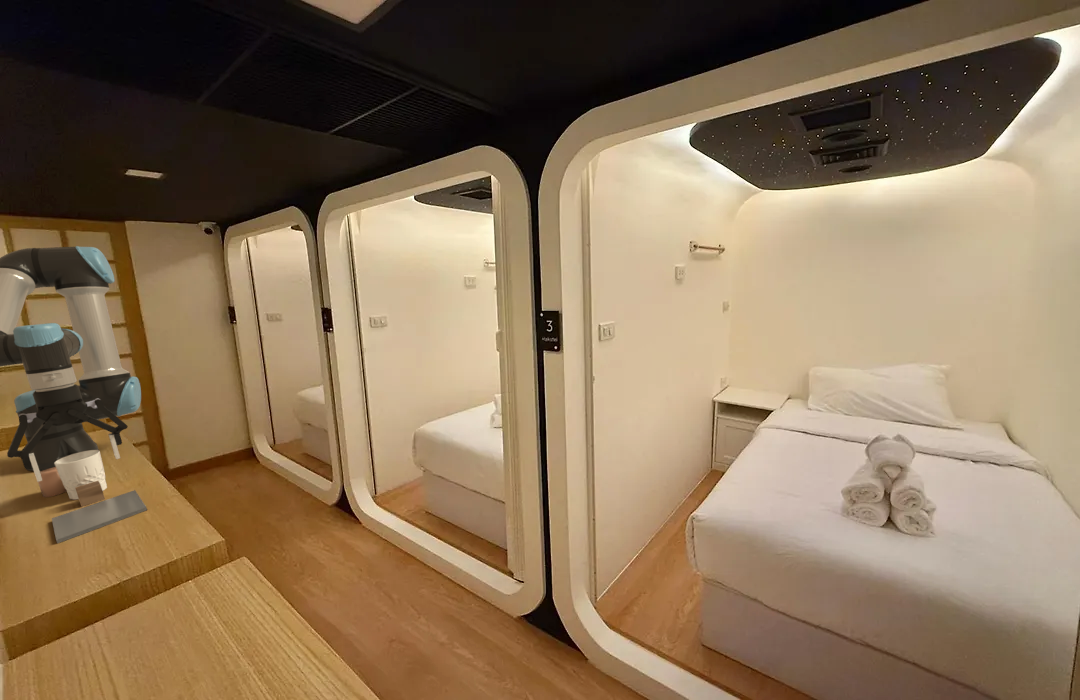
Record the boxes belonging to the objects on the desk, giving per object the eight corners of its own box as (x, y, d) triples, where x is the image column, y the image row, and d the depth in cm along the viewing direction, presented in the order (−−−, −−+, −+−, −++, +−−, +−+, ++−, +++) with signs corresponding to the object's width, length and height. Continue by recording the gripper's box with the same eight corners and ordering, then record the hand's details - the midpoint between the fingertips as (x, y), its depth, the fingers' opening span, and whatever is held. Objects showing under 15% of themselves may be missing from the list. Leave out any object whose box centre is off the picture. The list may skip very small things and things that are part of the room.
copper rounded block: (54, 488, 112) (46, 468, 111) (76, 485, 113) (70, 464, 112) (37, 498, 107) (29, 477, 106) (60, 494, 108) (53, 473, 107)
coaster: (52, 521, 96) (51, 518, 96) (135, 493, 106) (135, 490, 106) (57, 543, 87) (56, 540, 87) (147, 510, 98) (146, 506, 98)
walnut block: (80, 502, 104) (75, 487, 103) (102, 494, 107) (98, 480, 106) (81, 507, 101) (76, 492, 101) (105, 499, 104) (100, 484, 104)
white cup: (66, 494, 108) (54, 458, 106) (109, 481, 114) (99, 447, 112) (66, 504, 103) (53, 467, 101) (111, 490, 109) (100, 454, 107)
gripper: (-30, 404, 91) (2, 494, 95) (127, 376, 110) (148, 452, 114) (-28, 400, 96) (2, 486, 100) (123, 373, 114) (143, 446, 118)
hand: (80, 468), depth 107 cm, fingers open, 13 cm apart
